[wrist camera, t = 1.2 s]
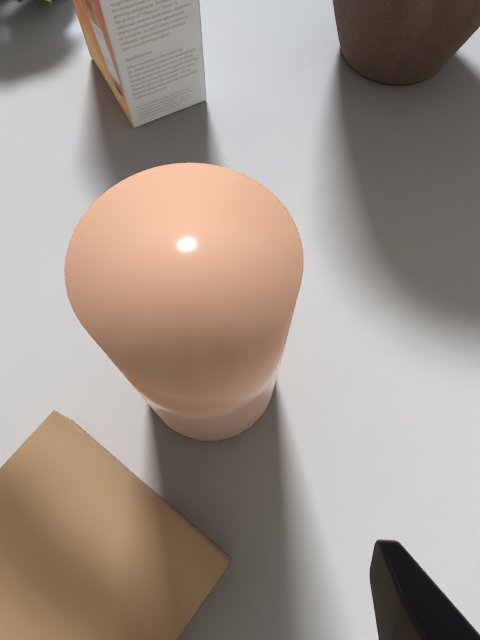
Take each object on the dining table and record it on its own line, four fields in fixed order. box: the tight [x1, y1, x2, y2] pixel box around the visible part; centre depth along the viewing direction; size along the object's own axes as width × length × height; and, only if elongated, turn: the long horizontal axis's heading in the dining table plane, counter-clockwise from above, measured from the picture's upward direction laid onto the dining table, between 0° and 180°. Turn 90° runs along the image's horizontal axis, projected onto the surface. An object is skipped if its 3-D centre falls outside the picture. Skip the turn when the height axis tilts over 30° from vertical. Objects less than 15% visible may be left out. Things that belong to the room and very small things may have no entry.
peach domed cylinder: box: [65, 163, 303, 441], centre depth 18 cm, size 7×7×12 cm
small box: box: [73, 0, 206, 128], centre depth 27 cm, size 8×6×10 cm
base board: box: [0, 411, 231, 640], centre depth 19 cm, size 10×10×2 cm
